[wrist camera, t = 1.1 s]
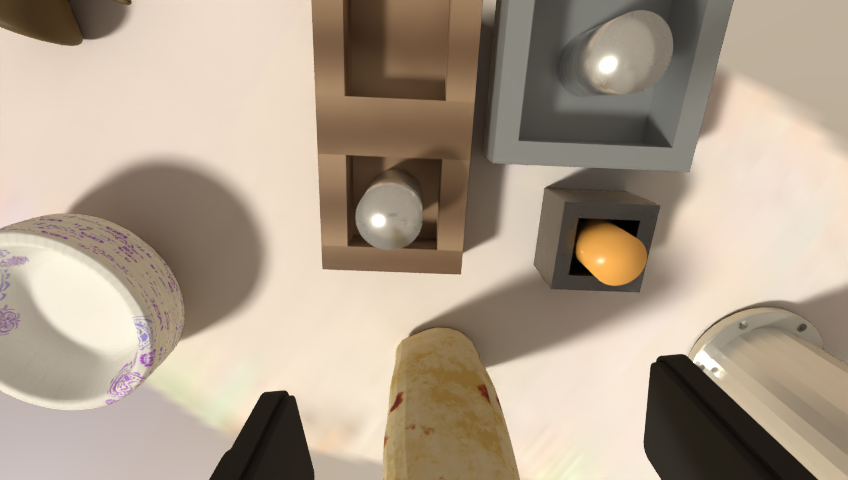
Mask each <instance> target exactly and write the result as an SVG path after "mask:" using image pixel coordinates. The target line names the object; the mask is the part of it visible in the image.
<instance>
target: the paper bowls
mask: <svg viewBox="0 0 848 480" xmlns="http://www.w3.org/2000/svg"><path fill="white" fill-rule="evenodd" d="M184 318H185V314H184V301H183V296H182V293H181V290H180V288H179V284H178V282H177V280H176V278H175V276H174V274H173V273H172V271H171V269H170V267H169V266H168V264H166V262H165V260H163V259H162V258H161V257H160V256H159V255H158V254H157V253H156V252H155V250H154V249H153V248H152V247H151V246H149V245H148V244H147V243H146V242H144V241H143V240H142V239H141V238H140V237H138V236H136V235H135V234H133V233H132V232H131V231H129V230H127V229H125V228H123V227H121V226H120V225H118V224H115V223H113V222H111V221H108V220H105V219H102V218H98V217H94V216H89V215H83V214H51V215H45V216H41V217H36V218H32V219H29V220H25V221H22V222H18V223H15V224H11V225H9V226H6V227H3V228H1V229H0V390H1V391H3V392H5V393H7V394H8V395H10V396H13V397H15V398H18V399H20V400H22V401H25V402H28V403H31V404H35V405H38V406H43V407H47V408H53V409H59V410H85V409H92V408H97V407H102V406H105V405H109V404H112V403H113V402H116V401H118V400H120V399H122V398H124V397H126V396H128V395H129V394H131V393H132V392H133V391H134V390H135V389H136V388H138V386H139V385H141V384H142V383H143V382H144V381H145V380H146V379H147V378H148V377H149V376H150V375H151V374H152V373H153V372H154V370H155V369H156V368H157V367H158V366H159V365H160V364H161V363H162V362H163V361H164V360H165V359H166V358H167V356H168V355H169V354H170V353H171V352H172V351H173V350H174V348H175V346H176V345H177V343H178V342H179V340H180V337H181V334H182V331H183V327H184V322H185V320H184Z"/></svg>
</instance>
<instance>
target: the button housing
mask: <svg viewBox="0 0 848 480" xmlns="http://www.w3.org/2000/svg"><path fill="white" fill-rule="evenodd" d="M659 209H660V205H658V204H656V203H653V202H651V201H648V200H646V199H644V198H641V197H639V196H636V195H634V194H631V193H629V192H627V191H604V190H581V189H557V188H545V189H544V196H543V203H542V210H541V217H540V224H539V231H538V238H537V245H536V252H535V259H534V266H535V267H536V269H537V270H538V271H539V273H540V274H541V276H542V277H543V279H544V280H545V281H546V283H547V284H548V286H549V287H550V288H551V289H567V290H593V291H620V292H640V287H641V283H642V279H643V275H644V271H645V267H646V265H645V267H644V269H643V271H642V272H641V273H640V275H639V276H638V277H636V278H635V279H634V280H632V281H631V282H629V283H626V284H623V285H618V286H612V285H607V284H604V283H602V282H601V281H599V280H598V279H597V278H596V277H595V276H594V275H593V274H592V273H591V272H590V271H589V270H588V269H587V268H586V267H585V266H584V265H583V264H582V263H581V262H580V261H579V260H578V259H577V258H576V257H575V256H574V255H573V254H572V253H573V247H574V241H575V236H576V230H577V225H578V224H579V223H580V222H582V221H584V220H586V219H588V218H591V219H606V220H608V221H609V222H611V223H613V224H614V225H616V226H618V227H619V228H621V229H622V230H624V231H626V232H627V233H629V234H631V235H632V236H634V237H636V238H637V239H639V240H640V241H641V242H642V243H643V245H644V246H645V248H646V252H647V258H648V254H649V250H650V246H651V242H652V238H653V233H654V229H655V225H656V221H657V217H658V213H659ZM646 262H647V261H646Z"/></svg>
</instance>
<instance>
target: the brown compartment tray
mask: <svg viewBox="0 0 848 480" xmlns="http://www.w3.org/2000/svg"><path fill="white" fill-rule="evenodd" d="M482 5H483V0H312V23H313V47H314V72H315V96H316V120H317V145H318V169H319V194H320V218H321V242H322V267H323V269H332V270H358V271H384V272H410V273H436V274H461V267H462V254H463V242H464V229H465V217H466V204H467V192H468V179H469V167H470V154H471V142H472V130H473V117H474V105H475V92H476V80H477V67H478V55H479V42H480V30H481V17H482ZM390 169H400V170H404V171H407V172H408V173H410V174H412V175H413V176H414V177H415V178H416V179H417V180H418V182H419V184H420V186H421V189H422V201H423V221H422V227H421V230H420V232H419V234H418V236H417V237H416V239H415V240H414V241H413V242H412V243H410V244H409V245H407V246H406V247H403V248H401V249H397V250H383V249H379V248H376V247H374V246H372V245H371V244H369V243H368V242H367V241H366V240H365V239H364V238H363V237H362V236H361V234H360V232H359V230H358V228H357V225H356V218H355V217H356V209H357V206H358V204H359V202H360V200H361V199H362V197H363V196H364V194H365V193H366V191H367V189H368V188H369V186H370V185H371V183H372V182H373V180H374V179H375V178H376V177H377V176H378V175H379V174H380V173H382V172H384V171H387V170H390Z"/></svg>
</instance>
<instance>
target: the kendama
mask: <svg viewBox="0 0 848 480" xmlns="http://www.w3.org/2000/svg"><path fill="white" fill-rule="evenodd" d="M114 1H116V2H119V3H122V4H125V5H130V4H131V0H114ZM0 27H2V28H5V29H7V30H10V31H12V32H15V33H18V34H21V35H24V36H27V37H31V38H34V39H38V40H41V41H46V42H50V43H55V44H60V45H68V46H75V45H79V44H81V43H82V41H83V38H82V34H81V31H80V29H79V26H78V24H77V22H76V19H75V17H74V15H73V12H72V10H71V8H70V5H69V2H68V0H0Z"/></svg>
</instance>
